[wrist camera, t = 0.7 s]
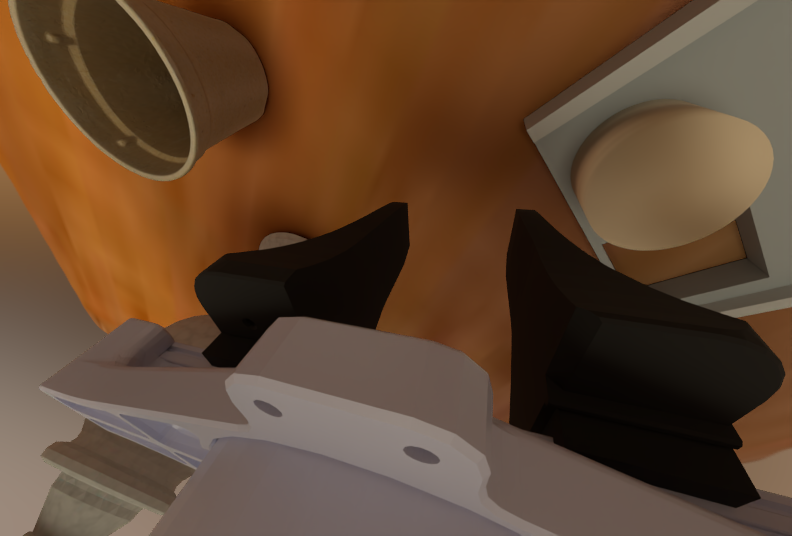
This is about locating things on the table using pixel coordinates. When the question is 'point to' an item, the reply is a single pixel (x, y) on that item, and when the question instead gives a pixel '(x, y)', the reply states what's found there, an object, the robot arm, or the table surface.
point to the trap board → (714, 89)
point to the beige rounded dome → (668, 173)
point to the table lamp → (120, 460)
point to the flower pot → (143, 77)
